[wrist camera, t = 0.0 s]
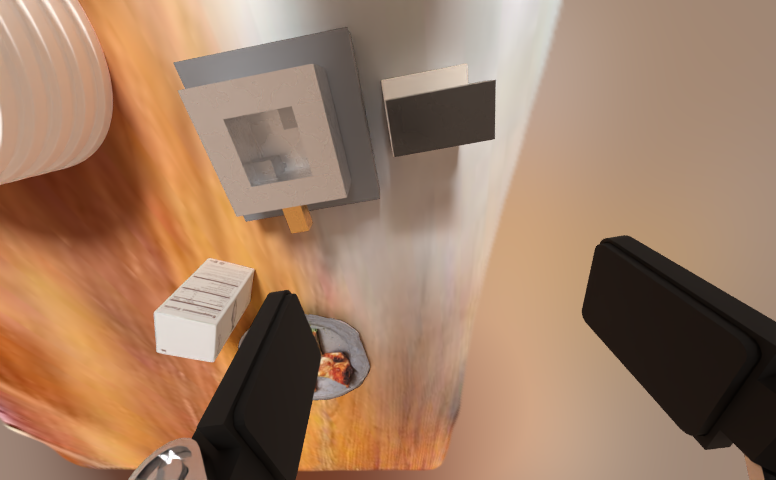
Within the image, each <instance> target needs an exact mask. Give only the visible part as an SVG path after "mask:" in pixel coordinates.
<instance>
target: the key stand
mask: <svg viewBox="0 0 776 480" xmlns="http://www.w3.org/2000/svg"><path fill="white" fill-rule="evenodd" d="M466 84H468V68H467V64H461V65H456V66H451V67H446V68H441V69H436V70H430V71H425V72H420V73H415V74H410V75H405V76H399V77H394V78H389V79H384V80H381V85H382V92H383V98H384V104H385V111H386V117H387V124H388V130H389V136H390V143H391V149H392V154H393V157H394V153H393V147H392V141H391V134H390V128H389V122H388V115H387V109H386V102H385V100H387V99H392V98H397V97H403V96H408V95H413V94H419V93H424V92H429V91H434V90H440V89H445V88H450V87H455V86H461V85H466Z"/></svg>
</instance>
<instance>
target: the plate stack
mask: <svg viewBox="0 0 776 480" xmlns="http://www.w3.org/2000/svg"><path fill="white" fill-rule="evenodd" d="M112 111H113V92H112V84H111V78H110V73H109V69H108V65H107V62H106V59H105V56H104V53H103V50H102V47H101V45H100V42H99V40H98V37H97V35H96V33H95V31H94V29H93V27H92V25H91V23H90V21H89V19H88V17H87V15H86V13H85V12H84V10H83V8H82V6H81V5H80V3H79V1H78V0H0V185H1V184H5V183H10V182H14V181H18V180H22V179H26V178H29V177H33V176H37V175H42V174H45V173H49V172H52V171H57V170H61V169H65V168H69V167H72V166H74V165H77V164H79V163H81V162H83V161H84V160H86V159H88V158H89V157H90V156H91V155H92V154H94V153H95V152H96V151H97V149H98V148H99V147H100V146H101V144H102V143H103V141H104V139H105V137H106V135H107V133H108V130H109V127H110V123H111V119H112Z"/></svg>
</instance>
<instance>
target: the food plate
mask: <svg viewBox="0 0 776 480" xmlns="http://www.w3.org/2000/svg"><path fill="white" fill-rule="evenodd" d="M305 316H306V318H307V320H308V323H309V325H310V328H311V330H312V332H313V335H314V337H315V339H316V342H317V344H318V346H319V349H320V352H321V362H320V367H319V372H318V377H317V381H316V386H315V391H314V396H313V400H326V399H332V398H336V397H340V396H343V395H345V394H347V393H348V392H350V391H352V390H354V389H355V388H357V387H359V386H360V385H361V384H362V383H363V380H364V379H365V377H366V376H367V374H368V373H369V370H370V365H369V361H368V359H367V356H366V353H365V350H364V348H363V344H362V342H361V341H360V338H359V337H360V336H359V332H357V331H356V330H355V329H354V328H352V327H351V326H350V325H348V324H347V323H345V322H343V321H341V320H336V319H332V318H325V317H321V316H318V315H306V314H305ZM249 329H250V328H249ZM249 329H248V330H247V332H248V331H249ZM247 332H245V334H244V335H243V336H242V338H241V339H240V342H239V346H238V348H239V347H240V346H241V344H242V342H243V340H244V338H245V336H246V334H247ZM348 350H349V351H348Z"/></svg>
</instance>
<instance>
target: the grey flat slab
mask: <svg viewBox="0 0 776 480" xmlns="http://www.w3.org/2000/svg"><path fill="white" fill-rule="evenodd" d="M308 64H316V65H318V66H321V67H323V68H325V70H326V74H327V79H328V83H329V87H330V91H331V96H332V100H333V104H334V108H335V112H336V117H337V121H338V125H339V129H340V134H341V138H342V142H343V146H344V151H345V155H346V159H347V163H348V167H349V172H350V176H351V180H352V181H351V185H350V188H349V192H348V195H347V198H342V199H336V200H330V201H324V202H318V203H313V204H307V207H308V210H309V211H311V210H317V209H322V208H328V207H334V206H340V205H346V204H352V203H358V202H363V201H369V200H375V199H380V187H379V182H378V177H377V171H376V166H375V161H374V155H373V150H372V145H371V140H370V134H369V129H368V124H367V118H366V113H365V108H364V103H363V97H362V92H361V87H360V81H359V76H358V71H357V66H356V60H355V55H354V50H353V44H352V39H351V34H350V32H349V30H348V28H347V27H344V28H340V29H335V30H330V31H325V32H320V33H315V34H310V35H305V36H301V37H296V38H291V39H286V40H281V41H276V42H271V43H266V44H262V45H257V46H252V47H247V48H242V49H237V50H232V51H227V52H223V53H218V54H213V55H208V56H203V57H198V58H193V59H188V60H184V61H179V62H174V65H175V67H176V70H177V72H178V74H179V76H180V78H181V80H182V83H183V85H184V87H185V89H188V88H193V87H198V86H203V85H208V84H213V83H218V82H223V81H228V80H233V79H238V78H243V77H248V76H253V75H258V74H263V73H268V72H273V71H278V70H283V69H288V68H293V67H298V66H303V65H308ZM281 215H284V213H283V210H282V209H278V210H272V211H266V212H260V213H254V214H249V215H243V216H244V218H245V221H252V220H258V219H264V218H270V217H276V216H281Z"/></svg>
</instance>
